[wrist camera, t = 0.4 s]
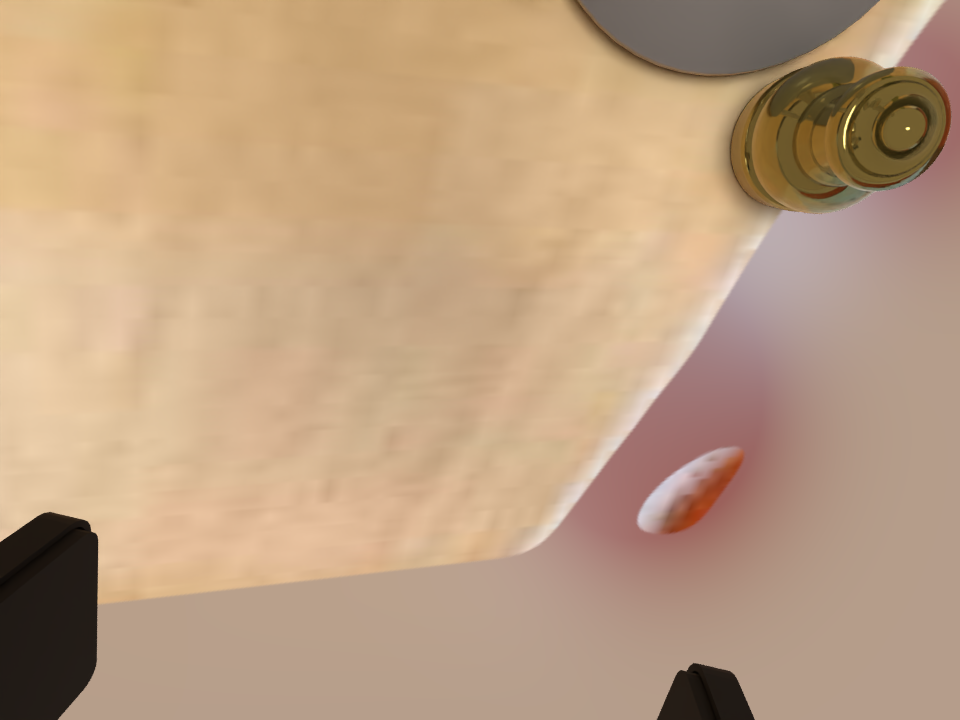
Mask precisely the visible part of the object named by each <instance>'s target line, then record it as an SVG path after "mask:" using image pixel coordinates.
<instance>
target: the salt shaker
mask: <svg viewBox="0 0 960 720" xmlns="http://www.w3.org/2000/svg"><path fill="white" fill-rule="evenodd" d="M950 127H951V105H950V101H949V98H948V95H947V93H946V91H945V89H944V88H943V86H942V85H941V83H940V82H939V81H938V80H937V79H936V78H935V77H933V76H932V75H931V74H929V73H927V72H925V71H923V70H921V69H917V68H913V67H890V68H883V67H882V66H880V65H878V64H876V63H874V62H872V61H869V60H866V59H862V58H857V57H835V58H829V59H825V60H822V61H819V62H816V63H814V64H811V65H809V66H807V67H804V68H801V69H798V70H796V71H793V72H791V73H789V74H787V75H786V76H784V77H782V78H779V79H777V80H775V81H773V82H772V83H770V84H768V85H767V86H766V87H764V88H763V89H762V90H761V91H759V92H758V93H757V94H756V95H755V96H754V97H753V98H752V99H751V101H750V102H749V103H748V104H747V106H746V107H745V108H744V110H743V112H742V113H741V115H740V117H739V119H738V121H737V124H736V126H735V129H734V133H733V136H732V142H731V161H732V166H733V170H734V173H735V176H736V178H737V180H738V182H739V183H740V185H741V186H742V188H743V189H744V190H745V191H746V192H747V193H748V194H749V195H750V196H751V197H752V198H754V199H755V200H757V201H758V202H760V203H762V204H764V205H767V206H770V207H774V208H780V209H783V210H788V211H797V212H804V213H813V214H814V213H815V214H822V213H831V212H836V211H839V210H843V209H846V208H848V207H851V206H853V205H855V204H857V203H859V202H861V201H862V200H864V199H866V198H867V197H868V196H870V195H871V194H872V193H874V192H875V191H885V190H890V189H894V188H897V187H900V186H903V185H905V184H907V183H909V182H911V181H912V180H914V179H916V178H917V177H918V176H920V175H921V174H922V173H924V172H925V171H926V170H927V169H928V168H929V167H930V166H931V165H932V164H933V162H934V161H935V160H936V158H937V157H938V156H939V154H940V153H941V151H942V149H943V147H944V145H945V143H946V141H947V138H948V135H949V131H950Z"/></svg>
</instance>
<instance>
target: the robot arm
mask: <svg viewBox="0 0 960 720" xmlns="http://www.w3.org/2000/svg"><path fill="white" fill-rule="evenodd" d="M97 591H98V536H97V535H96V533H93V532H91V527H90V524H89V523H88V521H85V520H82V519H77V518H73V517H69V516H65V515H60V514H56V513H52V512H48V513H43V514H41V515H39V516H37V517H36V518H34V519H33V520H32V521H30V522H29V523H27V524H26V525H24V526H23V527H21V528H20V529H19V530H17V531H16V532H14V533H13V534H11V535H10V536H8V537H7V538H6V539H4V540H3V541H1V542H0V720H58V719H59V717H60V716H61V715H62V714H63V713H64V712H65V710H66V709H67V708H68V707H69V706H70V705H71V703H72V702H73V701H74V700H75V699H76V698H77V697H78V695H79V694H80V693H81V692H82V691H83V690H84V688H85V687H86V686H87V684H88V682H89V681H90V679H91V677H92V675H93V673H94V670H95V667H96V662H97ZM657 720H755V719H754V717H753V715H752V712H751V710H750V708H749V706H748V703H747V701H746V698H745V696H744V694H743V692H742V689H741V687H740V685H739V682H738V680H737V678H736V677H735V675H734V674H733V673H732V672H730V671H727V670H722V669H718V668H714V667H710V666H705V665H701V664H696V663H693V664H692V665H691V666H690V667H689V668H688V670H687V671H682V670H680V671H679V672H678V673H677V675H676V677H675V679H674V681H673V684H672V686H671V688H670V691H669V693H668V695H667V697H666V700H665V702H664V705H663V707H662V709H661V711H660V714H659V716H658V719H657Z"/></svg>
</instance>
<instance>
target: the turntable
mask: <svg viewBox="0 0 960 720" xmlns="http://www.w3.org/2000/svg"><path fill="white" fill-rule="evenodd" d="M577 1H578V2H579V4H580V5H581V7H582V8H583V9H584V10H585V12H586V13H587V14H588V15H589V16H590V18H591V19H592V20H593V21H594V22H595V24H596V25H597V26H598V27H599V28H600V29H601V30H603V31H604V32H605V33H606V34H607V35H608V36H609V37H610V38H611V39H613V40H614V41H615V42H616V43H618V44H619V45H621V46H622V47H624V48H625V49H627V50H628V51H630V52H631V53H633V54H634V55H636V56H638V57H640V58H642V59H644V60H646V61H649V62H651V63H653V64H655V65H657V66H660V67H664V68H667V69H671V70H674V71H677V72H682V73H689V74H696V75H703V76H728V75H735V74H742V73H749V72H755V71H758V70H762V69H765V68H769V67H772V66H776V65H779V64H781V63H784V62H786V61H788V60H791V59H793V58H796V57H798V56H800V55H803V54H805V53H807V52H810V51H811V50H813V49H815V48H817V47H818V46H820V45H822V44H824V43H825V42H827V41H829V40H831V39H832V38H834V37H836V36H837V35H838V34H840V33H841V32H842V31H844V30H845V29H847V28H848V27H849V26H851V25H852V24H853V23H855V22H856V21H857V20H859V19H860V18H861V17H862V16H863V15H864V14H865V13H867V12H868V11H869V10H870V9H871V8H872V7H873V6H874V5H875V4H876V3H877V2H879V1H880V0H577Z"/></svg>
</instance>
